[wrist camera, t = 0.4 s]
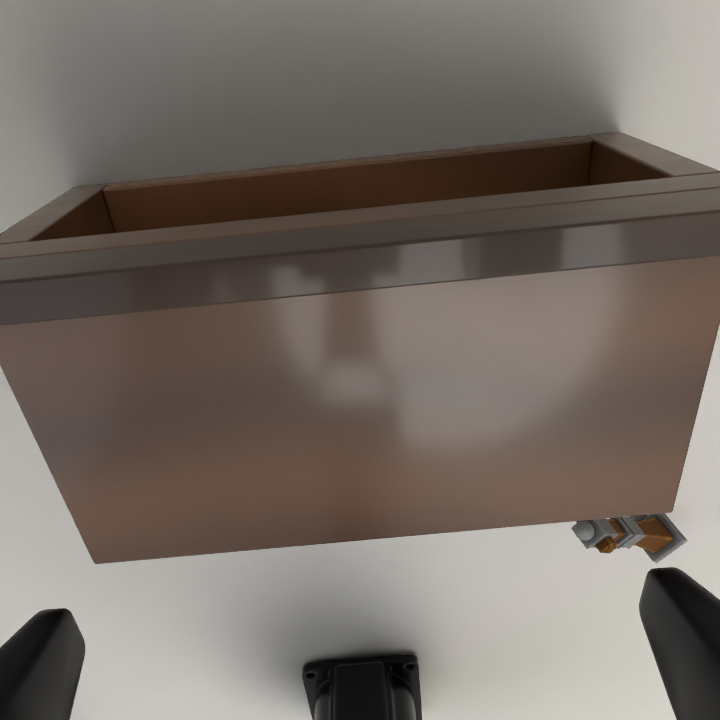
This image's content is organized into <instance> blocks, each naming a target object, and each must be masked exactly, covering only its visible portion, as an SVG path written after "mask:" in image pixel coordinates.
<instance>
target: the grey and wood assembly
mask: <svg viewBox="0 0 720 720" xmlns="http://www.w3.org/2000/svg"><path fill="white" fill-rule="evenodd" d="M576 522H577V524H575V525H574V526H573V527H572V530H573V531H574V532H575V534H576V536H577V537H578V538H579V539H580V540H581V542H582V543H583V544H584V546H585V547H586V548H587V549H588V548H590V547H596V548H597V549H598V550H599V551H600V552H601V553H610V552H612V551H613V550H614V549H616V548H618V549H619V548H621V547H627V548H628V549H629V548H630V547H631V546H633V545H636V546H639V547H642V548H643V549H644V550H645V552H646V553H647V554H648V556H649V557H650V558H651V559H652V561H653V562H654V561H655V562H656V563H658V562H659V561H661V560H662V559H663V558H665V557H666V556H667V555H669V554H670V553H672V552H673V551H674V550H676V549H677V548H679V547H680V546H681V545H683V544H684V543H685V542H687V539H686V538H685V537H684V536H683V535H682V533H681V532H680V531H679V530H678V529H677V528H676V526H675V525H674V524H673V523H672V522H671V520H670V519H669V518H668V517H667V516H666V514H665V513H659V514H649V515H648V516H647V517H645V518H644V519H643V520H641V521H638V522H637V521H634V520H633V519H632V518H631V517H629V518H625V517H614V518H611V519H606V518H603V519H592V520H581V521H576Z"/></svg>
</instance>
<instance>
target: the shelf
mask: <svg viewBox="0 0 720 720" xmlns="http://www.w3.org/2000/svg"><path fill="white" fill-rule="evenodd" d="M719 323H720V171H718V170H716V169H713V168H711V167H708V166H706V165H703V164H701V163H698V162H695V161H693V160H690V159H688V158H685V157H683V156H680V155H678V154H675V153H672V152H670V151H667V150H665V149H662V148H660V147H657V146H655V145H652V144H649V143H647V142H644V141H642V140H639V139H637V138H634V137H632V136H629V135H626V134H624V133H621V132H615V133H605V134H595V135H587V136H586V137H585V136H576V137H566V138H556V139H546V140H536V141H526V142H516V143H507V144H497V145H487V146H477V147H467V148H457V149H447V150H438V151H428V152H418V153H408V154H398V155H388V156H378V157H369V158H359V159H349V160H339V161H329V162H319V163H309V164H300V165H290V166H280V167H270V168H260V169H250V170H240V171H231V172H221V173H211V174H201V175H191V176H181V177H171V178H162V179H152V180H142V181H132V182H122V183H112V184H110V185H109V184H100V185H90V186H81V187H74V188H72V189H70V190H69V191H67V192H66V193H64V194H62V195H61V196H59V197H58V198H56V199H54V200H53V201H51V202H50V203H48V204H47V205H45V206H43V207H42V208H40V209H39V210H37V211H35V212H34V213H32V214H31V215H29V216H27V217H26V218H24V219H23V220H21V221H19V222H18V223H16V224H15V225H13V226H11V227H10V228H8V229H7V230H5V231H4V232H2V233H0V366H1V368H2V370H3V372H4V374H5V376H6V378H7V381H8V383H9V385H10V387H11V389H12V391H13V393H14V395H15V397H16V400H17V402H18V404H19V406H20V408H21V410H22V412H23V414H24V416H25V418H26V421H27V423H28V425H29V427H30V429H31V431H32V433H33V435H34V437H35V440H36V442H37V444H38V446H39V448H40V450H41V452H42V454H43V456H44V458H45V461H46V463H47V465H48V467H49V469H50V471H51V473H52V475H53V477H54V480H55V482H56V484H57V486H58V488H59V490H60V492H61V494H62V496H63V498H64V501H65V503H66V505H67V507H68V509H69V511H70V513H71V515H72V517H73V520H74V522H75V524H76V526H77V528H78V530H79V532H80V534H81V536H82V539H83V541H84V543H85V545H86V547H87V549H88V551H89V553H90V555H91V557H92V560H93V562H94V563H95V564H102V563H114V562H125V561H136V560H147V559H158V558H169V557H180V556H191V555H203V554H214V553H225V552H236V551H247V550H258V549H269V548H280V547H292V546H303V545H314V544H325V543H336V542H347V541H358V540H369V539H381V538H392V537H403V536H414V535H425V534H436V533H447V532H459V531H470V530H481V529H492V528H503V527H514V526H525V525H536V524H548V523H559V522H570V521H581V520H592V519H603V518H614V517H625V516H637V515H648V514H659V513H670V512H672V511H673V507H674V503H675V499H676V495H677V491H678V487H679V483H680V479H681V475H682V471H683V467H684V463H685V459H686V455H687V451H688V447H689V443H690V439H691V435H692V431H693V427H694V423H695V419H696V415H697V411H698V407H699V403H700V399H701V395H702V391H703V387H704V383H705V379H706V375H707V371H708V367H709V363H710V359H711V355H712V351H713V347H714V343H715V339H716V335H717V331H718V327H719Z"/></svg>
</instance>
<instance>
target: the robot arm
mask: <svg viewBox="0 0 720 720" xmlns="http://www.w3.org/2000/svg"><path fill="white" fill-rule="evenodd" d="M639 611H640V616H641V620H642V623H643V626H644V629H645V631H646V634H647V637H648V640H649V643H650V646H651V649H652V651H653V654H654V657H655V660H656V663H657V666H658V669H659V671H660V674H661V677H662V680H663V683H664V686H665V689H666V691H667V694H668V697H669V700H670V703H671V706H672V708H673V711H674V714H675V716H676V719H677V720H720V600H719V599H718V598H717V597H715V596H714V595H713V594H712V593H710V592H709V591H708V590H706V589H705V588H704V587H703V586H701V585H700V584H699V583H697V582H696V581H695V580H694V579H692V578H691V577H690V576H688V575H687V574H686V573H684V572H683V571H682V570H680V569H678V568H673V567H669V568H654V569H651V570H650V571H649V572H648V573H647V576H646V580H645V583H644V587H643V591H642V595H641V598H640V603H639ZM84 656H85V642H84V639H83V636H82V634H81V632H80V630H79V628H78V626H77V624H76V622H75V619H74V617H73V615H72V613H71V612H70V611H69V610H68V609H65V608H62V609H47V610H42V611H40V612H38V613H37V614H35V615H34V616H33V617H32V618H31V619H30V620H29V621H28V622H27V623H26V624H25V625H24V626H23V627H22V628H20V629H19V630H18V631H17V632H16V633H15V634H14V635H13V636H12V637H11V638H10V639H9V640H8V641H7V642H6V643H5V644H4V645H3V646H2V647H0V720H70V716H71V711H72V707H73V703H74V699H75V694H76V690H77V686H78V682H79V678H80V673H81V669H82V665H83V661H84ZM302 678H303V682H304V686H305V690H306V694H307V698H308V702H309V706H310V710H311V715H312V719H313V720H422V712H421V697H420V682H419V667H418V659H417V657H416V656H414V655H400V656H388V657H377V658H365V659H353V660H342V661H330V662H319V663H309V664H306V665H304V666H303V670H302Z"/></svg>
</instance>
